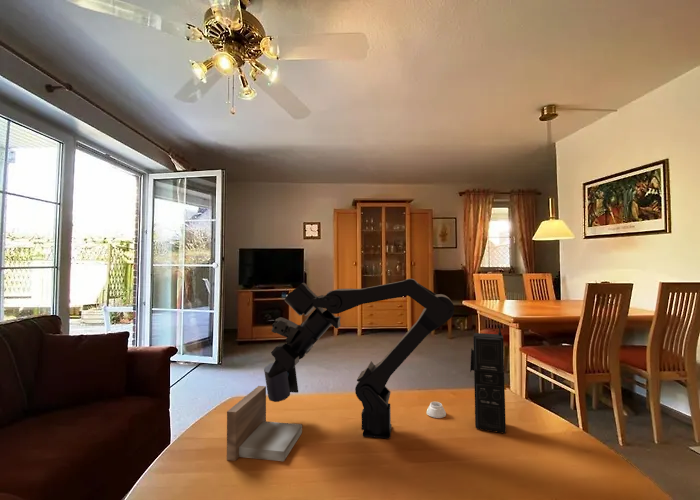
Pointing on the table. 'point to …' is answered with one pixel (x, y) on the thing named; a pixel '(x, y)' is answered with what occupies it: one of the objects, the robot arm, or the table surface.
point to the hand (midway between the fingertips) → (273, 372)
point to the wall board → (258, 430)
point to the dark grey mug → (280, 384)
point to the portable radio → (489, 381)
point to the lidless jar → (436, 410)
